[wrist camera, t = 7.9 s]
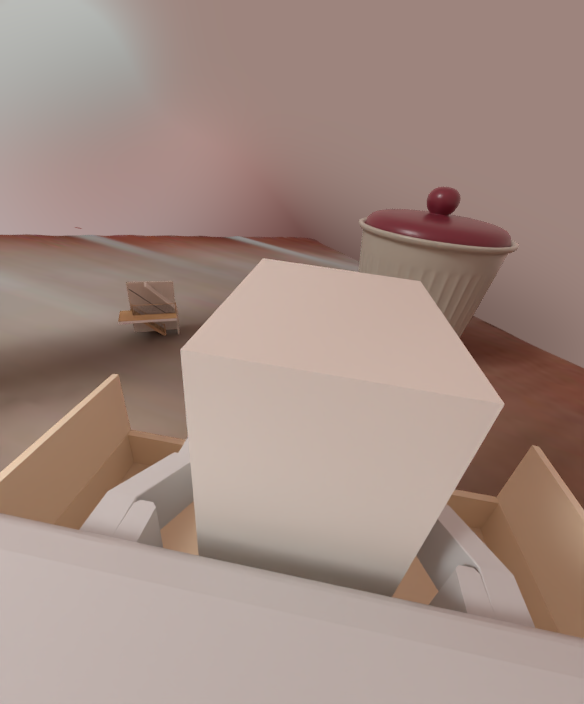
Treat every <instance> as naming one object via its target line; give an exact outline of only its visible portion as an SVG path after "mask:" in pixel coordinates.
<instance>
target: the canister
mask: <svg viewBox="0 0 584 704" xmlns="http://www.w3.org/2000/svg"><path fill="white" fill-rule="evenodd" d="M459 203H460V194H459V192H458V191H457V190H455V189H453V188H450V187H438V188H436V189H434V190H433V191H432V192H431V193H430V194H429V195H428V198H427V208H428V210H429V211H420V210H406V209H386V210H379V211H376V212H373V213H372V214H370V215H369V216H368V217H366V218H362V219H360V220H359V225H360V227H361V228H363V234H362V242H361V251H360V262H359V272H360V273H367V274H374V275H381V276H388V277H395V278H402V279H409V280H416V281H421V283H422V284H423V286H424V287H425V289H426V290H427V291H428V293H429V294H430V296H431V297H432V299H433V300H434V302H435V303H436V305H437V306H438V308H439V309H440V310H441V312H442V313H443V315H444V316H445V318H446V319H447V321H448V322H449V324H450V325H451V327H452V328H453V329H454V331H455V332H456V334H457V335H458V337H459V338H460V336H461V335H462V333H463V331H464V330H465V328H466V326H467V325H468V323H469V322H470V320H471V318H472V316H473V315H474V313H475V311H476V309H477V308H478V306H479V304H480V303H481V301H482V299H483V297H484V295H485V294H486V292H487V290H488V288H489V287H490V285H491V283H492V281H493V280H494V278H495V276H496V274H497V272H498V271H499V269H500V267H501V265H502V264H503V262H504V260H505V258H506V257H507V255H508V253H512V252H514V251H516V250H517V249H518V247H519V245H518V243H516V242H515V241H513V240H511V237H510V235H509V233H508V232H507V231H505V230H504V229H502V228H500V227H498V226H496V225H493V224H490V223H486V222H483V221H479V220H475V219H471V218H466V217H461V216H456V215H450V214H451V213H452V212H454V211H455V209H456V208H457V207H458V205H459Z"/></svg>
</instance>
